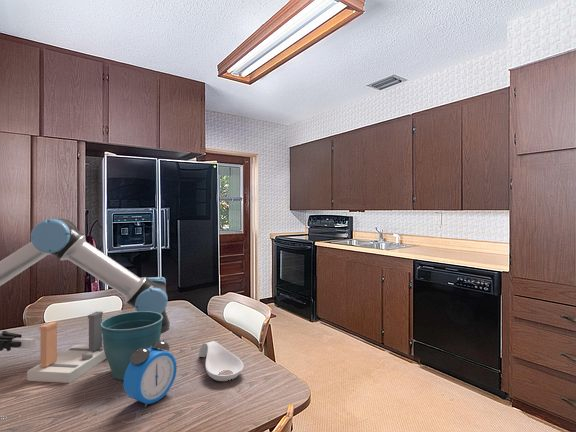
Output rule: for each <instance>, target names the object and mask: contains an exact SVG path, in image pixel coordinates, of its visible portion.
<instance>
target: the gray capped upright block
mask: <svg viewBox="0 0 576 432" xmlns="http://www.w3.org/2000/svg"><path fill="white" fill-rule="evenodd" d="M103 314H104V311H95V312H92V313H89V314H88V315H87V319H88V345H89V351H96V350H97V349H99V348H101V347H102V346H103V335H102V327H101V323H102V322H103Z"/></svg>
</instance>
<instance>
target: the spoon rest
mask: <svg viewBox="0 0 576 432" xmlns="http://www.w3.org/2000/svg"><path fill="white" fill-rule="evenodd" d="M206 355H207V356H206ZM203 356H206V357H205V363H204V365H205V366H204V367H205V371H206V373H207V375H208V376H209V377H210V378H212V379H213V380H215V381H219V382H229V381H231V379H232V380H234V379H236V378H237V377H238V376H239V375H240V374H241V373H242V372H243V371H244V367H245V365H244V363H243V361H242V360H241V359H240V358H239V357H238V356H237V355H235V354H234V353H232V352H230V350H228V349H227V348H225V347H224V346H222V345H221V344H220V343H218V342H217V341H215V340H211V341H209V342H203V343H202V344H201V347H200V348H199V352H198V358H199V357H203ZM223 370H230V371H232V372H233V374H231V375H218V374H219V372H221V371H223ZM228 380H229V381H228Z"/></svg>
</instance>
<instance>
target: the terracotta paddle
mask: <svg viewBox="0 0 576 432" xmlns="http://www.w3.org/2000/svg"><path fill="white" fill-rule="evenodd" d="M58 326H59V322H58V321H50V322H48V323H44V324H43V325H40V326H39V331H40V346H39V347H40V350H39V351H40V354H39V356H40V363H39V364H40V366H41V367H47V366H49V365H50V364H52V363H54V362H56V361H57V355H58V346H57V345H58V344H57V343H58V336H57V335H58Z"/></svg>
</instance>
